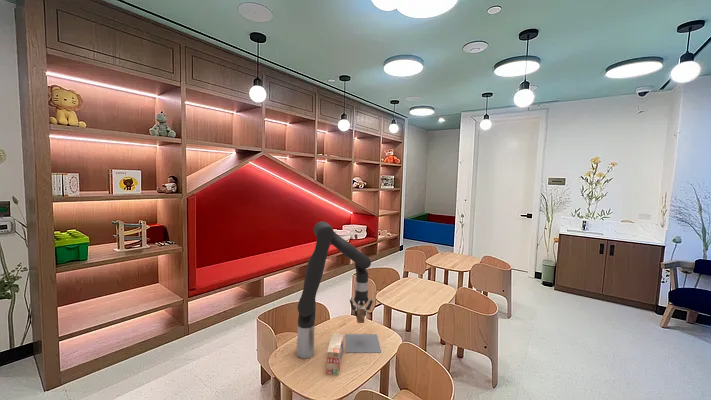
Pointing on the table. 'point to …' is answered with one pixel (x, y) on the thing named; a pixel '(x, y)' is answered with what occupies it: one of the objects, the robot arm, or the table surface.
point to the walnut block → (360, 313)
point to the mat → (362, 343)
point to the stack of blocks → (334, 354)
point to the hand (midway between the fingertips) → (360, 316)
